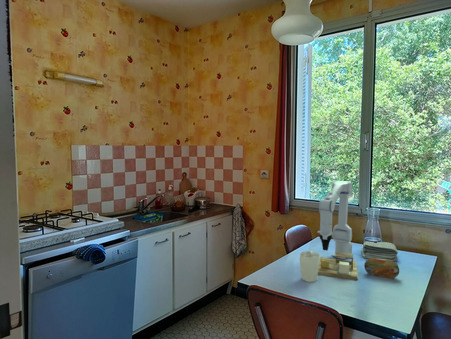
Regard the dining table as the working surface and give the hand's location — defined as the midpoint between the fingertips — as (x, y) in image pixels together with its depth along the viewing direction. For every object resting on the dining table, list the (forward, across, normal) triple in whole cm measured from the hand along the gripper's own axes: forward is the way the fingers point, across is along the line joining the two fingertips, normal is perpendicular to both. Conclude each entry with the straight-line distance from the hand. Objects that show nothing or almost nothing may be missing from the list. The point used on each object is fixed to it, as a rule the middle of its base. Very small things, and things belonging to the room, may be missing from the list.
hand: (325, 250), depth 155 cm
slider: (+9, +4, +5) cm, 11 cm away
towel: (+11, -36, +28) cm, 46 cm away
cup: (+11, +15, -6) cm, 19 cm away
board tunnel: (+10, -4, +5) cm, 12 cm away
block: (+8, +4, +9) cm, 13 cm away
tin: (+11, -3, +26) cm, 28 cm away
